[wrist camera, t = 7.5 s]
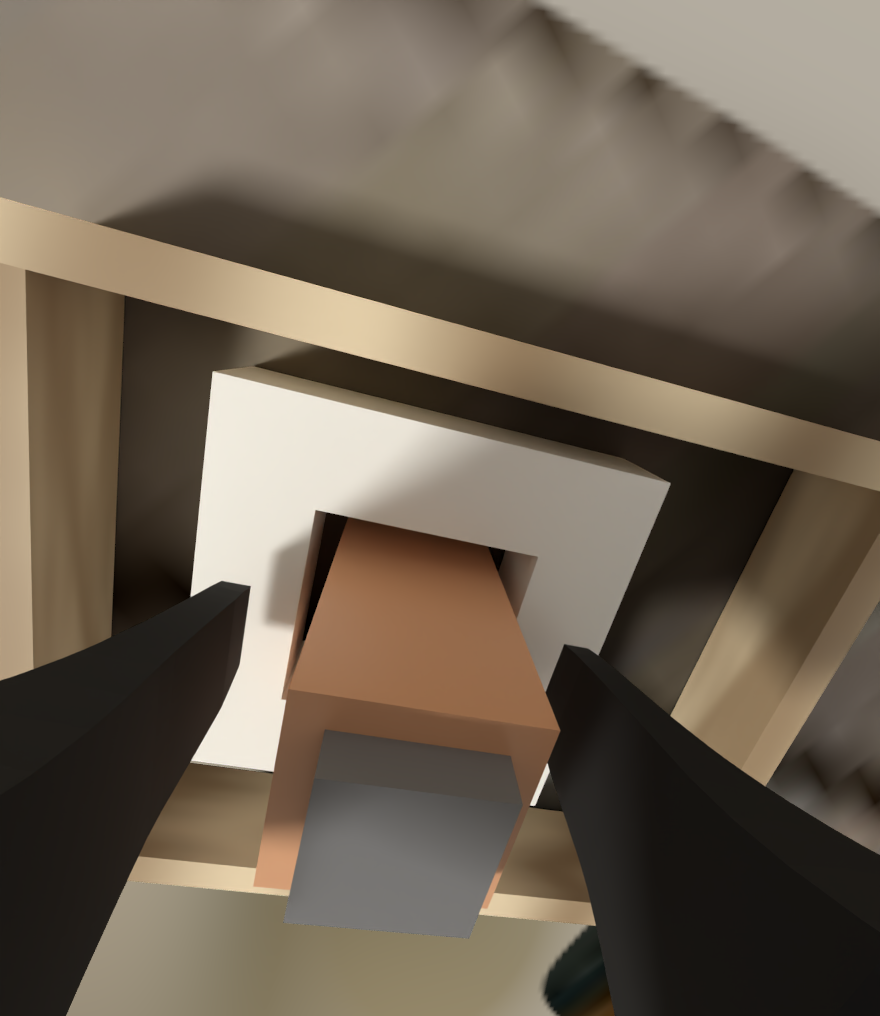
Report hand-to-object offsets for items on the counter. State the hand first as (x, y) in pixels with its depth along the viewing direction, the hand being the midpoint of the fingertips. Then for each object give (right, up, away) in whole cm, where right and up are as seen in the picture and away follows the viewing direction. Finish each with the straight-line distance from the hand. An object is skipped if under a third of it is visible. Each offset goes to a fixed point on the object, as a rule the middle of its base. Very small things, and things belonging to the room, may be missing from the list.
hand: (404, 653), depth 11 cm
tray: (+1, 0, +4) cm, 4 cm away
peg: (0, +1, +3) cm, 4 cm away
